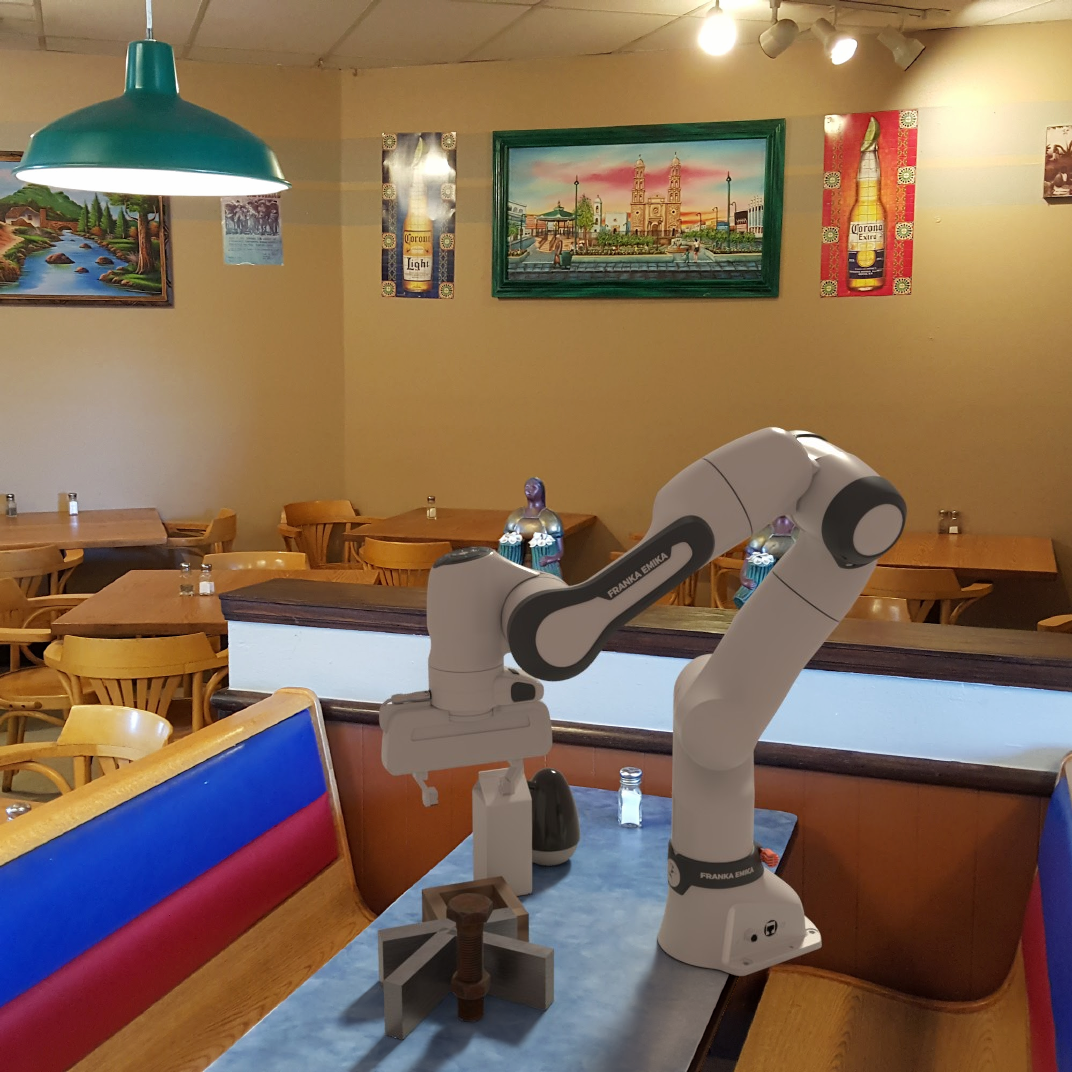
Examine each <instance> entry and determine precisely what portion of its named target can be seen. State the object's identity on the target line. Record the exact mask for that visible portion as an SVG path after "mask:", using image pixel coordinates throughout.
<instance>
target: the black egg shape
mask: <svg viewBox="0 0 1072 1072" xmlns="http://www.w3.org/2000/svg"><path fill="white" fill-rule="evenodd" d="M526 781H527V785H528V788H529V791H530V795H531V798H532V863H535V864H537V865H539V866H540V865H541V866H545V865H546V866H548V867H550V866H552V865H553V866H558V865H562V864H564V863H566V862H567V861H568V860H570V859H571V858H572V857H573V855H574V854H575V852H576V850H577V848H578V844H579V843H580V840H581V825H580V817H579V812H578V808H577V804H576V801H575V797H574V794H573V792H572V789H571V787H570V785H569V783H568V781H567V779H566V777H565V776H564V774H563V773H562V772H561V771H560V770H558V769H556V768H552V767H544V768H541V769H539V770H537V771H536V772H535V773H534V775H533V776H532V777H531V779H529V780H528V779H526Z"/></svg>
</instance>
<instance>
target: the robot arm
mask: <svg viewBox="0 0 1072 1072" xmlns="http://www.w3.org/2000/svg"><path fill="white" fill-rule="evenodd" d="M907 514H908V509H907V504H906V501H905V499H904V498H903V496H902V495H901V493H900V491H898V489H897V488H896V487H895V485H893V484H892V482H890V481H889V480H888V479H886V478H884V477H883V476H880V475H879V473H878V472H876V471H875V470H874V469H873V468H872V467H871V466H869V465H868V464H867V463H866V462H864V461H863V460H862V459H861V458H859V457H858V456H856V455H854V454H852V453H849V452H847V451H846V450H844V449H842V448H840V447H839V446H837V445H836V444H835V445H834V444H833V443H830V442H829V441H828V440H827V439H826V438H825V437H823V436H822V435H819V434H817V433H814V432H811V431H806V430H797V429H795V430H788V431H787V430H785V429H783V428H779V427H774V426H770V427H765V428H761V429H759V430H755V431H752V432H750V433H748V434H746V435H743V436H741V437H739V438H736V439H734V440H732V441H729V442H727V443H725V444H724V445H722V446H720V447H718V448H716V449H714V450H712V451H711V452H709V453H707V454H706V455H704V456H702V457H701V458H699V459H697V460H696V461H694V462H692V463H691V464H690V465H688V466H686V467H685V468H684V469H682V470H681V471H680V472H678V473H677V474H676V475H675V476H673V477H672V478H671V479H670V480H669V481H668V482H667V483H666V484H665V485H663V486H662V487H661V489H660V490H659V491H657V494H656V496H655V499H654V502H653V507H652V519H651V524H650V526H649V529H647V530H648V531H647V532H646V534H645V535H644V537H643V538H642V539H641V540H640V541H639V542H638V543H637V544H636V545H635V546H632V548H631V549H629V550H628V551H627V552H625V553H624V554H622V555H620V556H619V557H618V558H616V559H615V560H614V561H612V562H611V563H609V564H608V565H606V566H604V568H601V570H599V571H598V572H597V573H595V574H593V575H592V576H590V577H589V578H588V579H586V580H585V581H583V582H580V583H577V584H574V585H568V584H567V583H566V581H564V580H563V579H561V578H560V577H559V576H557V575H555V574H552V573H549V572H545V571H542V570H537V569H533V568H529V567H526V566H524V565H521V564H518V563H516V562H514V561H512V560H510V559H508V558H507V557H504V556H502V555H501V554H500V553H498V552H497V551H496V550H495V549H493V548H492V547H487V546H469V547H463V548H459V549H456V550H452V551H448V552H447V553H446V554H443V555H441V556H439V557H438V559H436V561H435V562H434V563H433V564H432V566H431V568H430V571H429V575H428V582H427V590H426V591H427V592H426V628H427V631H428V634H429V639H430V650H429V655H428V657H427V670H428V673H427V674H428V677H427V678H428V690H420V691H414V692H409V693H396V694H393V695H391V696H390V698H387V699H385V701H383V702H382V704H381V705H380V707H379V711H378V716H379V717H378V721H379V722H378V723H379V726H380V729H381V730H382V740H381V763H382V765H383V767H384V768H385V770H386V771H388V773H390V775H392V776H394V777H395V776H396V777H397V776H402V775H412V777H413V778H414V780H415V781H416V783H417V784H418V785H419V787H420V789H421V793H422V794H421V795H422V796H421V797H422V804H423V805H424V807H425V808H427V807H434V806H438V805H439V800H438V798H439V793H438V790H437V789H436V787H435V786H429V787H428V786H427V784H426V782H425V781H427V780H428V779H429V772H433V771H440V770H447V769H455V768H456V769H457V768H463V767H471V766H477V765H484V764H493V763H500V762H507V763H508V764H509V767H508V768H509V769H508V771H507V773H506V775H505V777H500V778H499V784H500V785H499V792H500V793H501V794H502V796H504V795H511V794H514V793H515V781H516V779H517V777H518V776H519V774H520V772H521V770H522V768H523V766H524V759H529V758H537V757H544V756H546V755H547V754H548V753H549V752H550V751H551V749H552V748H553V731H552V730H553V729H552V727H553V726H552V720H551V716H550V715H551V714H550V711H549V707H548V706H547V704H546V703H545V702H544V701H543V700H542V699H543V697H544V694H545V688H544V685H543V683H542V682H541V681H544V682H552V683H553V682H563V681H566V680H570V679H572V678H575V677H577V676H579V675H581V674H582V673H583V672H584V671H586V670H587V669H588V668H589V667H590V666H591V665H592V664H593V663H594V662H595V660H596V659H597V658H598V656H599V654H600V653H601V652H602V650H603V648H604V647H605V646H606V645H607V643H608V642H609V641H610V639H612V637H613V636H614V634H615V633H617V632H618V631H619V630H620V629H621V628H622V627H624V626H625V625H626V624H627V623H629V622H630V621H632V620H633V619H635V618H636V617H637V616H638V615H639V616H640V615H641V613H643V612H644V611H645V610H647V609H648V608H649V607H651V606H652V605H654V604H655V603H656V602H658V601H660V599H662V598H664V597H665V596H666V595H668V594H669V593H670V592H671V591H673V590H674V589H676V588H677V587H678V586H680V585H681V584H682V583H684V582H685V581H686V580H687V579H689V578H690V577H691V576H692V575H693V574H695V573H696V572H698V571H699V570H701V569H702V568H703V567H705V566H706V565H707V564H709V563H710V562H712V561H713V560H715V559H716V558H718V557H720V556H722V555H723V554H725V553H726V552H728V551H730V550H732V549H733V548H734V547H737V546H738V545H740V544H741V543H743V542H745V541H746V540H747V539H750V538H751V537H752V536H753V535H756V534H757V533H758V532H760V531H761V530H763V529H764V528H766V527H767V526H768V525H770V524H771V523H772V522H774V521H776V519H777V518H779V517H786V518H787V519H788V520H789V521H790V522H791V523H792V524H794V526H795V527H796V528H798V529H799V532H798V536H797V539H796V541H795V542H794V543H793V545H792V546H791V547H790V548H788V550H786V552H785V553H784V554H783V555H782V556H781V557H780V558H779V560H778V561H777V562H776V563H775V565H774V566H773V567H772V569H770V570H769V572H768V573H767V574H766V576H765V577H764V578H763V580H762V581H761V582H760V583H759V585H758V586H757V587H756V588H755V590H754V591H753V592H752V594H751V595H750V596H749V597H748V599H747V600H745V602H744V604H743V605H742V606H741V608H740V609H739V611H737V612H736V614H735V615H734V617H733V618H732V621H731V623H730V624H729V626H728V628H727V630H726V632H725V634H724V635H723V636H722V638H721V640H720V642H719V643H718V644H717V647H716V648H715V649H714V651H713V652H712V653H707V654H703V655H699V656H697V657H695V658H693V659H692V660H691V661H689V662H688V663H687V664H686V665H685V666H684V668H682V670H681V671H680V672H679V674H678V676H677V677H676V680H675V683H674V687H673V694H672V695H673V697H672V698H673V701H672V703H673V704H672V705H673V706H672V715H673V716H672V771H671V772H672V773H671V774H672V776H671V777H672V780H671V783H672V785H671V787H672V788H671V826H670V827H671V832H670V833H671V835H670V837H671V838H670V839H669V841H668V843H667V844H668V845H667V846H668V847H667V862H666V872H667V874H666V875H667V884H668V888H667V889H668V890H667V896H666V902H665V909H664V912H663V917H662V921H661V924H660V927H659V929H658V930H659V931H658V933H657V942H658V944H659V946H660V947H661V949H662V950H663V951H664V952H666V954H667V955H669V956H670V957H672V958H674V959H676V960H678V961H681V962H683V963H686V964H688V965H692V966H696V967H701V968H707V969H712V970H713V969H715V970H718V971H722V972H725V973H728V974H731V975H733V976H738V977H744V976H747V975H750V974H753V973H756V972H758V971H762V970H764V969H768V968H770V967H772V966H776V965H778V964H781V963H784V962H786V961H789V960H791V959H794V958H798V957H800V956H803V955H806V954H808V953H810V952H814V951H816V950H819V949H821V948H822V936H821V933H820V931H819V929H818V928H817V927H816V925H815V924H814V923H813V922H812V921H811V920H810V919H809V918H808V917H807V916H806V915H805V911H804V907H803V903H802V901H801V899H800V896H799V895H798V893H797V892H796V891H795V890H794V889H793V888H792V886H791V885H789V884H788V883H786V881H784V880H783V879H781V877H779V876H778V875H777V874H775V873H773V871H771V870H769V869H768V868H771V869H773V868H775V867H777V866H778V864H779V863H780V856H779V855H778V854H777V853H776V852H774V851H773V850H771V849H770V848H765V849H764V848H763V846H762V844H760V843H759V842H757V841H756V840H754V827H755V826H754V823H755V820H754V819H755V794H756V793H755V767H754V765H755V762H754V761H755V760H754V758H755V757H754V753H755V752H754V750H755V748H756V746H757V743H758V741H759V740H760V738H761V736H762V734H763V733H764V732H765V730H766V729H767V727H768V726H769V725H770V722H771V721H772V720H773V718H774V716H775V715H776V713H777V712H778V710H779V709H780V707H781V705H782V704H783V702H784V701H785V699H786V697H787V696H788V693H790V691H791V688H792V687H793V686H794V683H795V682H796V680H797V678H798V677H799V676H800V674H801V672H802V671H803V670H804V668H805V667H806V666H807V664H808V663H809V662H810V660H812V658H813V657H814V656H815V654H816V653H817V652H818V650H819V649H820V648H821V647H822V645H824V643H825V642H826V640H827V639H828V637H830V636H831V634H832V633H833V632H834V630H835V629H836V628H837V627H838V626H839V624H840V623H841V622H842V620H843V619H844V618H845V617H846V615H847V614H848V613H849V611H850V610H851V609H852V607H853V606H854V605H855V603H856V602H857V600H858V599H859V597H860V596H861V594H862V592H863V591H864V590H865V588H866V585H867V584H868V582H869V580H870V579H871V577H872V574H873V572H874V571H875V569H876V567H877V565H878V562H879V561H878V560H879V558H881V557H883V556H884V555H885V554H887V553H888V552H889V551H890V550H892V548H893V547H894V546H895V545H896V543H897V542H898V541H899V539H900V538H901V535H902V534H903V532H904V530H905V526H906V520H907ZM507 654H511V656H512V658H513V660H514V662H515V663H516V664H517V666H518V667H519V668H517V667H511V666H507V665H506V666H505V661H504V660H505V659H504V658H505V656H506V655H507ZM540 680H541V681H540ZM763 863H764V864H765V865H766V866H767V867H768V868H766V867H765V866H764V864H763Z"/></svg>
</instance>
